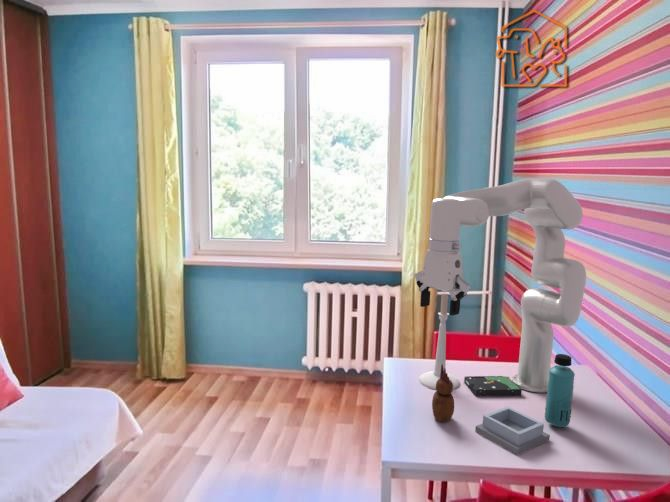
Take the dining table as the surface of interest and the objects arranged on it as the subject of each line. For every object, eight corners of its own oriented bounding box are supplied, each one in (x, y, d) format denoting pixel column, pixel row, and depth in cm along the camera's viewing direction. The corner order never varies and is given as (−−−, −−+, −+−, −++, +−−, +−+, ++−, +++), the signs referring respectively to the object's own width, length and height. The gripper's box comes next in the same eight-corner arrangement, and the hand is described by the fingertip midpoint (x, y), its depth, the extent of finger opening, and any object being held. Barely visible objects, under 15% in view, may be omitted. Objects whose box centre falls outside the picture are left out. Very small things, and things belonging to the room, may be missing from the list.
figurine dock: (506, 418, 140) (508, 403, 139) (549, 440, 129) (551, 424, 128) (475, 431, 132) (476, 415, 132) (517, 455, 122) (518, 437, 121)
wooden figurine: (429, 412, 142) (432, 361, 140) (450, 413, 142) (453, 362, 140) (433, 424, 136) (437, 371, 133) (455, 425, 135) (459, 372, 133)
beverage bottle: (558, 434, 132) (566, 362, 129) (537, 422, 138) (544, 353, 135) (575, 429, 135) (583, 358, 132) (554, 418, 141) (561, 349, 138)
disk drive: (475, 398, 153) (521, 397, 155) (475, 390, 153) (522, 388, 154) (463, 384, 163) (507, 383, 165) (463, 376, 163) (507, 374, 164)
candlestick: (457, 375, 168) (463, 288, 163) (461, 392, 156) (468, 298, 151) (418, 372, 170) (423, 286, 165) (419, 388, 158) (425, 295, 153)
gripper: (480, 249, 126) (475, 315, 129) (426, 241, 139) (423, 301, 142) (462, 252, 121) (457, 320, 124) (408, 242, 134) (405, 305, 137)
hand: (439, 310), depth 133 cm, fingers open, 9 cm apart
